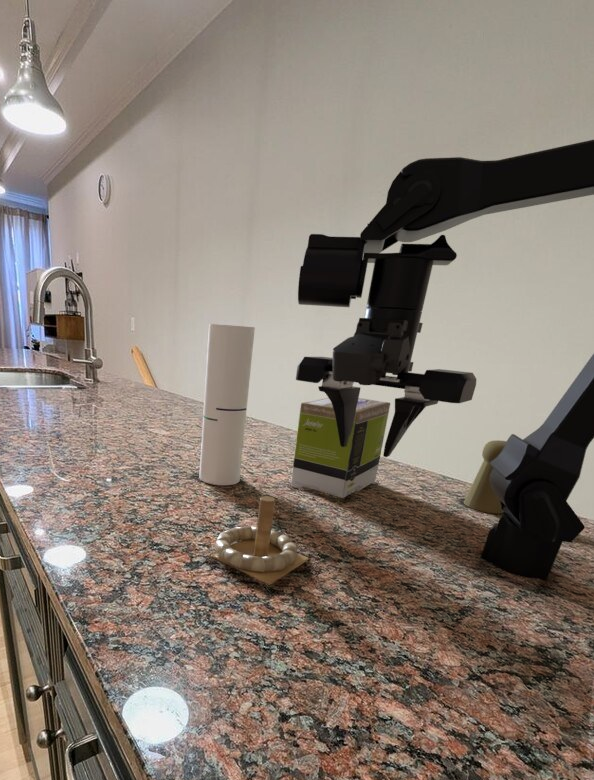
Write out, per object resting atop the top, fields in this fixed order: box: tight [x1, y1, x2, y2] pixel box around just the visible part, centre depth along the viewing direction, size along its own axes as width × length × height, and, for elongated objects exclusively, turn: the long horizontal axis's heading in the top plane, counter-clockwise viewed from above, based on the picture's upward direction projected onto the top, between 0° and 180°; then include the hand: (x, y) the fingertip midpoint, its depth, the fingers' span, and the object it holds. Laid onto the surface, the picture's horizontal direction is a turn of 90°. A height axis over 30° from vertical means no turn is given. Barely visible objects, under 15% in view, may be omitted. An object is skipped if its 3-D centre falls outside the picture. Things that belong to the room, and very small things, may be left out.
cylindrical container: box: [198, 323, 256, 486], centre depth 74 cm, size 7×7×25 cm
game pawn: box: [463, 440, 507, 514], centre depth 73 cm, size 6×6×11 cm
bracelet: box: [214, 525, 298, 572], centre depth 51 cm, size 9×9×2 cm
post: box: [210, 495, 310, 586], centre depth 49 cm, size 8×8×8 cm
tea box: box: [290, 397, 391, 499], centre depth 77 cm, size 15×10×15 cm
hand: (364, 451), depth 54 cm, fingers open, 5 cm apart
